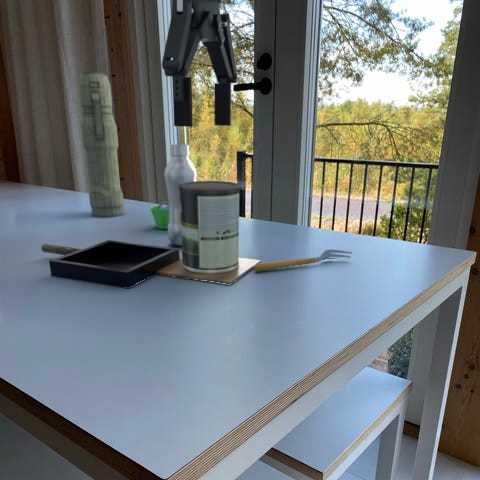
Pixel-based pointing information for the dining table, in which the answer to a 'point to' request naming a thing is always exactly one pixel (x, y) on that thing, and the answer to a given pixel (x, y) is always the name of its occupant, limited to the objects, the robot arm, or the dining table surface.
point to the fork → (300, 260)
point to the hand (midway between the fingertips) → (204, 126)
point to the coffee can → (210, 226)
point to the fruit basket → (161, 215)
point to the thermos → (100, 145)
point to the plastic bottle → (177, 187)
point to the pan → (110, 262)
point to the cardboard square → (227, 277)
